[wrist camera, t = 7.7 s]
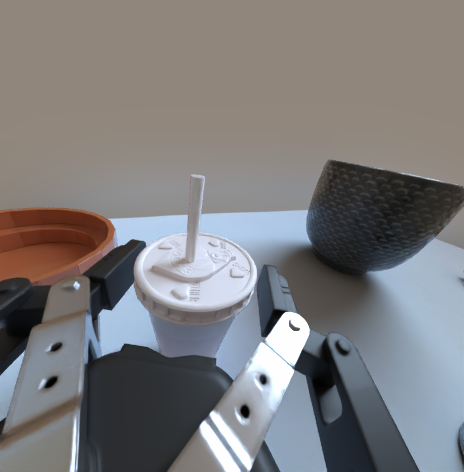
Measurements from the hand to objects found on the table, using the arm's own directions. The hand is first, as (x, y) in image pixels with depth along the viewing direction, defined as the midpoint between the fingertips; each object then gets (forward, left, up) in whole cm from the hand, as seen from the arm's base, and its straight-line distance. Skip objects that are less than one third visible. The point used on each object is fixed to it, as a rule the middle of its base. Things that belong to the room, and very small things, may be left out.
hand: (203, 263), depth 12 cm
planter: (-26, -14, -8) cm, 30 cm away
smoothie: (0, +2, -8) cm, 8 cm away
